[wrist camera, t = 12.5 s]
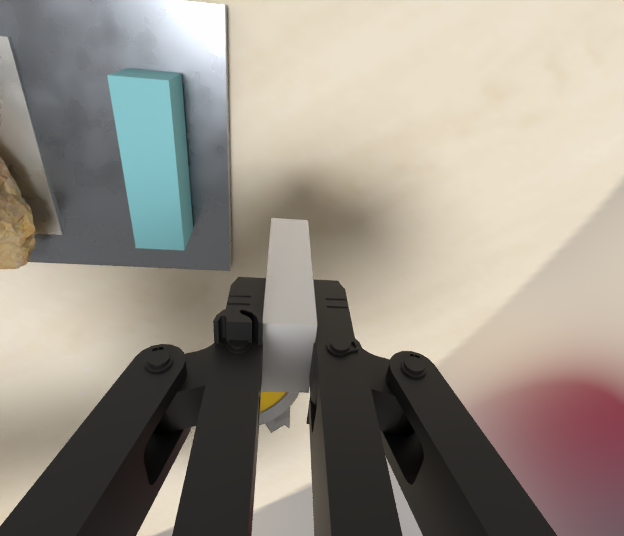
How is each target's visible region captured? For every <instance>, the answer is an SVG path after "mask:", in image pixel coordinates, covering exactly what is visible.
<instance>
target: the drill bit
mask: <svg viewBox="0 0 624 536" xmlns="http://www.w3.org/2000/svg"><path fill="white" fill-rule="evenodd" d="M298 394H299V392H262V391H261V401H260V419H259V425H261V424H264V423H265V424H266V426H267V427H268V429H269V430H270V432H271V433H272V432H273V431H275V430H277V429H278V428H280V427H282V426H283V425H286V426H287V427H288V428H289V425H290V406H291V405H292V404H293V402H294V401H295V400H296V398H297V396H298Z"/></svg>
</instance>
